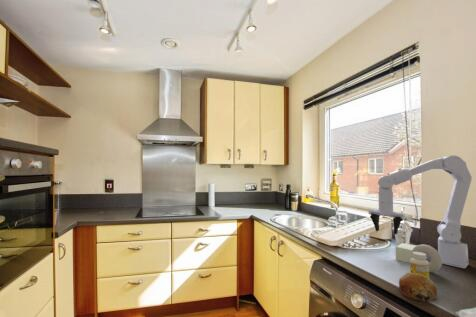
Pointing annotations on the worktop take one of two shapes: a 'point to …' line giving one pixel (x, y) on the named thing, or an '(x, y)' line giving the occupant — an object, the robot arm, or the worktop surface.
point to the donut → (434, 255)
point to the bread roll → (417, 287)
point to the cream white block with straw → (403, 232)
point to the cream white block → (404, 252)
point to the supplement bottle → (419, 264)
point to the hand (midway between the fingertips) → (386, 232)
